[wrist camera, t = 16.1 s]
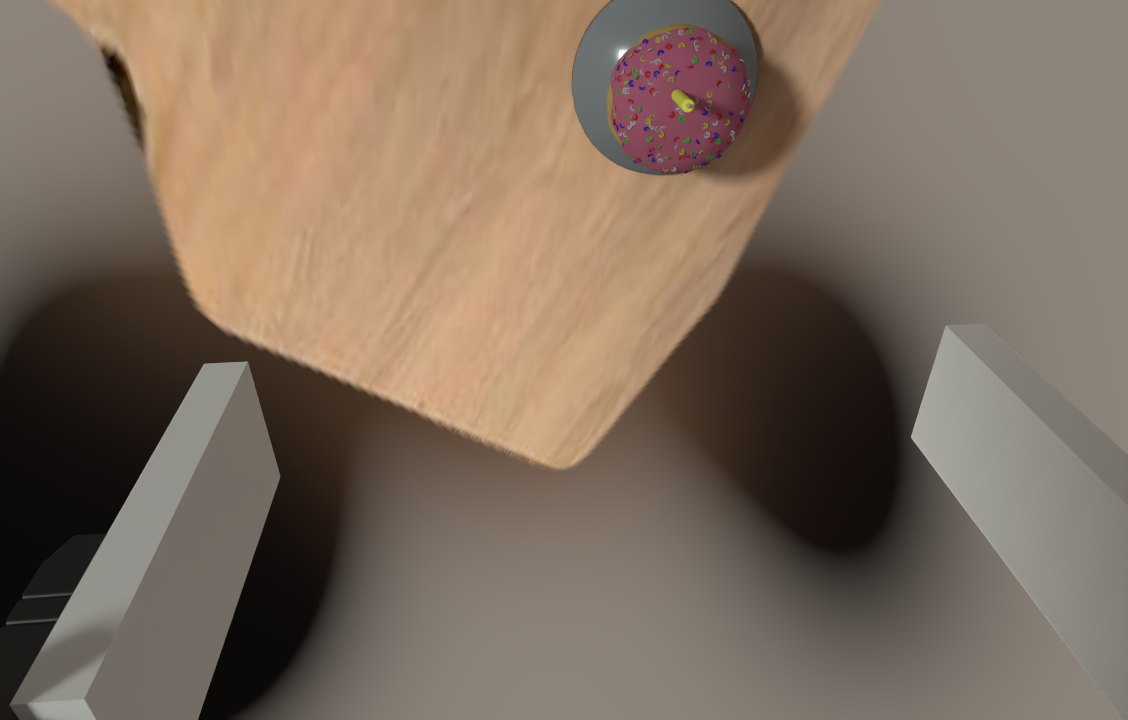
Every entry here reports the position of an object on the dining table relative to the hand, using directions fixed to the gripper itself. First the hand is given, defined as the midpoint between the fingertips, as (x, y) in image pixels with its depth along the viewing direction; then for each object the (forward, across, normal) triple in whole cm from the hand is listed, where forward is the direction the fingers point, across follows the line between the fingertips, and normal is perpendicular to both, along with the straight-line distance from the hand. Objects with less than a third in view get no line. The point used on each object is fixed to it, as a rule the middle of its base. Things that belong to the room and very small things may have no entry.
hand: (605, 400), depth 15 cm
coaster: (+39, +9, -3) cm, 40 cm away
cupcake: (+38, +9, -3) cm, 39 cm away
